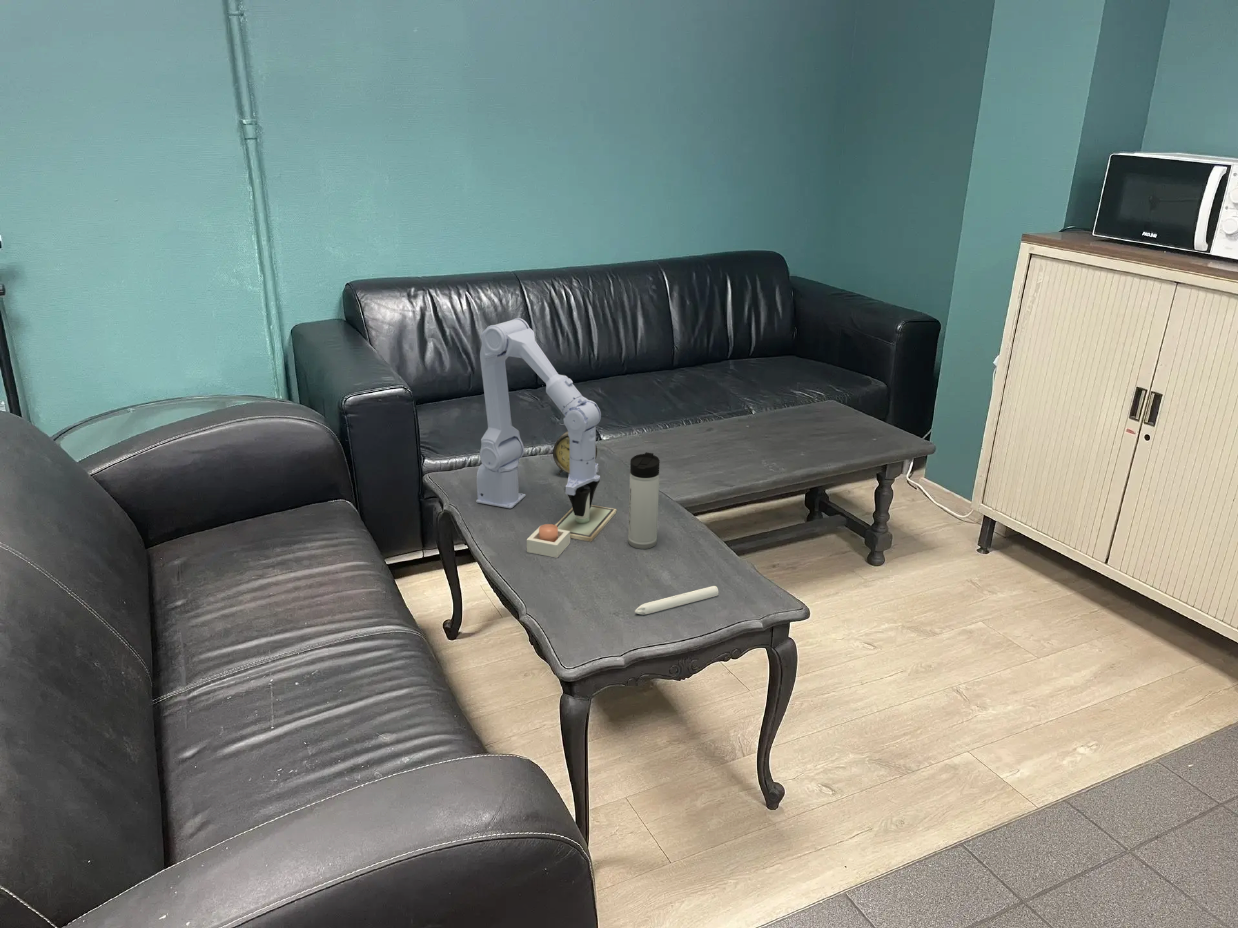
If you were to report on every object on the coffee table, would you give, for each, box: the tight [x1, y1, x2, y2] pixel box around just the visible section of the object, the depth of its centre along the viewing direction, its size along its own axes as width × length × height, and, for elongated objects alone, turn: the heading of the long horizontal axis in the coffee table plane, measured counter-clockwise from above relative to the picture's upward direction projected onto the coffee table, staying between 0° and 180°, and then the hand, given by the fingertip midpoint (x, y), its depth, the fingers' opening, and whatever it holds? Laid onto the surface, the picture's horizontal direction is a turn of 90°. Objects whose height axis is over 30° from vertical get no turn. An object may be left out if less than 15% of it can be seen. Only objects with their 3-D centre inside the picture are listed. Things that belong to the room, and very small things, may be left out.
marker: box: [634, 585, 719, 616], centre depth 164 cm, size 18×2×2 cm, turn 117°
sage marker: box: [575, 485, 590, 523], centre depth 193 cm, size 3×3×8 cm
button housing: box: [526, 527, 571, 559], centre depth 184 cm, size 7×7×3 cm
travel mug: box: [627, 452, 661, 550], centre depth 184 cm, size 6×7×20 cm
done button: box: [538, 523, 558, 542], centre depth 183 cm, size 4×4×3 cm
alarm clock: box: [552, 431, 598, 476], centre depth 218 cm, size 11×5×16 cm, turn 80°
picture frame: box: [555, 504, 618, 542], centre depth 195 cm, size 10×16×1 cm, turn 160°
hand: (582, 511), depth 194 cm, fingers closed on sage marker, 3 cm apart
